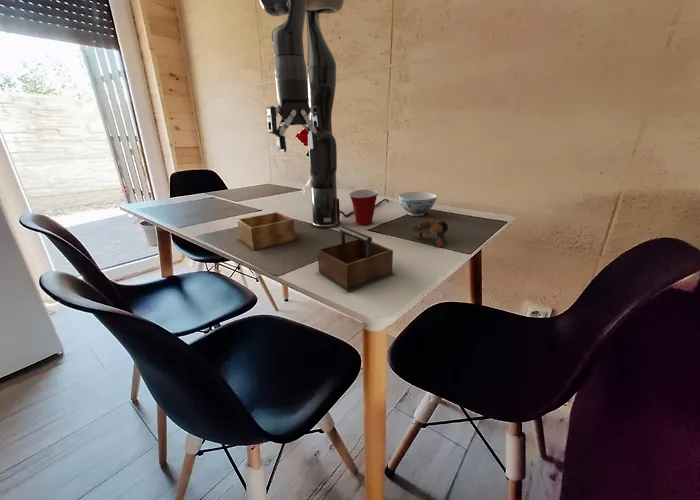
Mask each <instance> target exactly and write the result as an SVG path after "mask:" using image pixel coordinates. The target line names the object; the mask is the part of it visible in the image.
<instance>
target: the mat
mask: <svg viewBox="0 0 700 500" xmlns="http://www.w3.org/2000/svg"><path fill="white" fill-rule="evenodd" d="M319 274H320V275H321V276H323V277H324V278H325V279H327V280H329V281H330V282H331V283H333V284H334V285H336V286H338V287H339V288H341V289H342V290H344V291H346V292H347V293H350V292H352V291H354V290H358V289H360V288H362V287H365V286H367V285H370V284H372V283H375V282H377V281H380V280H383V279H385V278H388V277H389V276H392V275H393V274H394V273H393V271H392V273H389V274H387V275H384V276H382V277H379V278H376V279H374V280H371V281H369V282H366V283H363V284H361V285H358V286H356V287H353V288H350V289H348V290H347V289H345V288H344V287H342V286H340V285H339V284H337V283H336V282H334V281H333V280H331V279H330V278H328V277H327V276H325V275H323V274H322V273H320V272H319Z"/></svg>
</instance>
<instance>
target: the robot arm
mask: <svg viewBox="0 0 700 500" xmlns="http://www.w3.org/2000/svg"><path fill="white" fill-rule="evenodd" d="M258 1H259V4H260V6H261V8H262V9H263V11H264V12H265V13H266V14H267V15H269V16H271V17H282V16H286V19H285V22H283V23H282V24H280V25H278V26H276V27H275V28H273V29H272V31H271V43H272V44H271V45H272V51H273V52H272V53H273V69H274V78H275V79H274V81H275V88H276V97H277V102H278V106H274V105H270V106H266V122H267V132H268V133H269V134H272V135H273V136H274V135H275V137H276V143H277V148H278V149H277V150H279V152H281V153H286V152H287V143H286V136H285V134H286V131H287V129H289V127H290V126H302V128H304V129H305V130H306V131H307V133H308V134H307V147H308V155H309V178H310V180H309V181H310V192H311V193H310V194H311V210H312V211H311V212H312V213H311V214H312V226H313V227H316V228H320V229H327V228H328V229H329V228H334V227H336V226H338V225H340V224H341V218H340V217H341V214H342V215H343V217H345V218H346V217H349V216H351V215H353V214H354V210H352V211H350V212H349V213H348V214H345V212H344V211H342V210H341V209H340V199H339V198H338V191H337V187H338V186H337V170H338V155H337V154H338V151H337V150H338V149H337V148H338V147H337V140H336V138H335V136H334V135H333V128H332V127H333V126H332V114H333V108H334V107H333V106H334V102H335V95H336V89H337V62H336V59H335V57H334V55H333V53H332V50H331V49H330V47H329V46H328V44H327V41H326V40H325V37H324V35H323V32H322V29H321V24H320V15H330V14H332V15H333V14H338V13H339V12H340V11H341V10H342V9H343V7H344V2H345V0H258ZM305 23H306V37H307V39H306V40H307V41H306V42H307V51H306V53H307V57H306V59H307V61H305V49H304V28H305ZM306 63H307V64H306ZM278 115H279V116H280V117H281V119H280V120H279V122H278V123H277V117H278ZM277 124H278V125H277ZM383 202H388V203H389V199H388V198H383V199H382V200H380V201H379V202H377V203H375V208H377V207H378V206H379V205H380V204H382V203H383Z"/></svg>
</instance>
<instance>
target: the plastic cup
mask: <svg viewBox="0 0 700 500" xmlns="http://www.w3.org/2000/svg"><path fill="white" fill-rule="evenodd" d="M378 194H379V191H378V190H376V189H370V188H367V189H357V190H353V191H351V192H349V193H348V196H349V198H350V199H351V202H352V208H353V211H354V213H353V215H354V217H355V218H354V219H355V222H356V225H358V226H369V225H372V223H373V219H374V213H375V208H376V207H375V205H376V202H377V197H378Z"/></svg>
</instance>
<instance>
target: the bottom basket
mask: <svg viewBox="0 0 700 500" xmlns="http://www.w3.org/2000/svg"><path fill="white" fill-rule="evenodd" d="M236 221H237V226H238V227H237V228H238V233H239V239H240V241H241V242H242V243H244V244H245V245H246V246H247V247H249V248H250V249H251V250H253V251H257V250H261V249H265V248H269V247H274V246H277V245H281V244H285V243H290V242H293V241H296V231H295V222H294V219H293V218H292V217H289V216H287V215H285V214H282V213H280V212H278V211H275V212H270V213H265V214H260V215H253V216H249V217H242V218H238V219H236Z"/></svg>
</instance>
